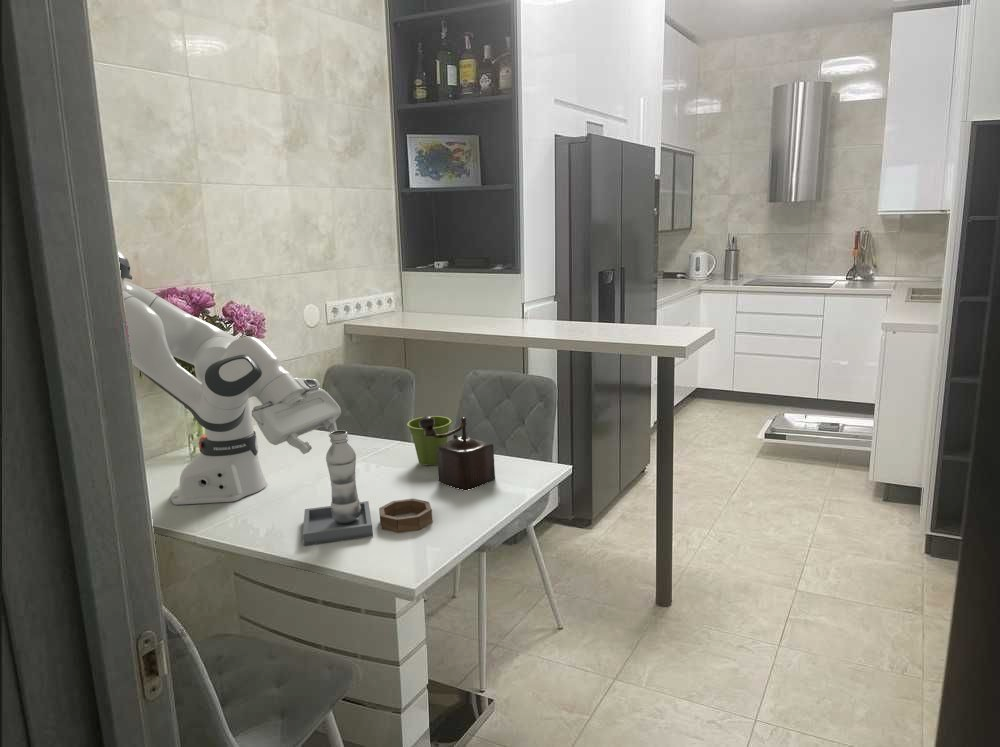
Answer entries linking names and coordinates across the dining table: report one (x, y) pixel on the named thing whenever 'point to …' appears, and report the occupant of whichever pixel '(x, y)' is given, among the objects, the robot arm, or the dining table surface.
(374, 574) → the dining table surface
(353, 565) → the dining table surface
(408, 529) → the walnut collar
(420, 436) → the plant pot
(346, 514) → the plastic bottle
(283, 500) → the dining table surface
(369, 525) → the charcoal tray
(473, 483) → the manual coffee grinder
